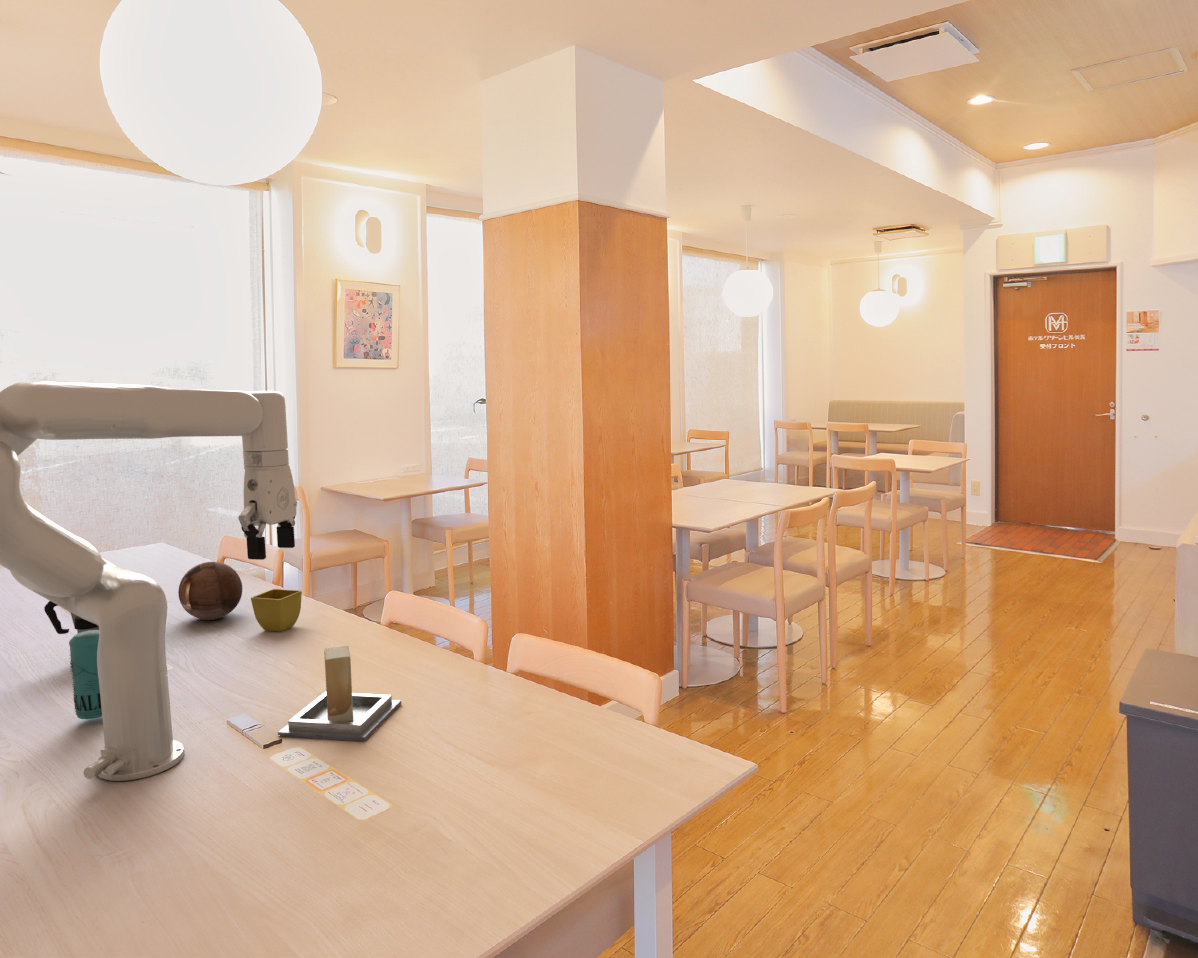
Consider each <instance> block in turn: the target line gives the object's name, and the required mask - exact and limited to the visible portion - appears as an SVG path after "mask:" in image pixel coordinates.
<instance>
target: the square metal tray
mask: <svg viewBox="0 0 1198 958" xmlns="http://www.w3.org/2000/svg"><path fill="white" fill-rule="evenodd" d="M392 697H393V696H392V694H381V693H380V694H379V693H377V694H374V693H362V692H361V693H360V692H359V693H358V692H357V693H355V692H352V703H353V721H331V720H328V713H327V693H326V691H324V692H323V693H321V694H320V695H319V696H318V697H316V699H314V700H313V701H311V702H310V703H309V704H307V706H305V707H304V708H303V709H301V710H300V711H299V712H297V713H296V714H295V715H294V716H293V717H292V718H290V719H289V720H288V721H287V724H286V725H284V727H282V728H281V729H280V730H279V731H277V736H278V735H280V736H282V737H281V738H283V737H284V738H297V739H298V738H299V739H313V740H315V739H316V740H327V741H328V740H332V741H347V742H362V743H365V742H366V741H367V740H368V739H369V738H370V737H371V736H372V735H373V734H374V733H375V732H376V731H377V730H378V729H379V728H380V727H381V726H382V725H383V724H384V723H385V722H386V721H387V719H389V717H390V716H391V715H392V714H394V712H395V711H396V710H397V709H398V708H399V707H400V706H401V705H402V699H393V698H392ZM384 721H385V722H384ZM383 722H384V723H383ZM382 723H383V724H382ZM381 724H382V725H381ZM379 726H380V727H379ZM378 727H379V728H378ZM377 728H378V729H377ZM376 729H377V730H376ZM375 730H376V731H375ZM374 731H375V732H374ZM373 732H374V733H373ZM371 734H372V735H371Z"/></svg>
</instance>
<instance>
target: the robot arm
mask: <svg viewBox="0 0 1198 958" xmlns="http://www.w3.org/2000/svg"><path fill="white" fill-rule="evenodd" d="M285 399H286V398H285V396H284V395H283V393H282V392H280V391H278V390H276V391H275V390H256V391H255V390H251V391H244V390H220V389H219V390H216V389H215V390H214V389H213V390H211V389H192V388H191V389H189V388H186V389H185V388H171V387H163V386H154V385H146V384H129V383H127V384H126V383H125V384H122V383H99V382H98V383H97V382H96V383H95V382H92V383H91V382H67V381H65V382H64V381H22V382H16V383H14V384H12V385H9V386H7V387H5V388H4V389H2V390H1V391H0V566H2V567H3V568H4V569H7V570H8V571H9V572H10V574H11V576H12V577H13V578H14V579H15V581H17V583H18V584H20V585H22V586H23V587H25V588H27V589H28V590H30V591H32V592H33V593H35V594H37V595H39V596H40V597H42V598H44V599H46V600H48V602H49V601H51V602H53V603H55V604H57V605H59V606H58V607H61V608H63V609H64V610H66V611H68V612H69V613H70V612H72V613H73V614H75V615H77V616H79V617H81V618H83V619H85V620H87V621H89V622H92V623H94V624H96V625H98V626H99V630H100V634H99V642H98V649H97V668H98V678H99V687H100V698H101V709H102V717H101V718H102V729H103V737H104V738H103V740H104V746H103V747H101V748H100V757H98V759H97V761H96V762H93V763H92V764H90V765H88V766H87V767H85V768H84V770H83V776H84V777H85V778H86V779H87V780H92V779H94V778H95V777H98V778H100V779H103V780H106V781H111V782H112V781H115V782H124V781H132V780H139V779H143V778H148V777H151V776H153V775H157V774H159V773H162V772H164V771H166V770H169V769H170V768H172V767H174V766H176V765H177V764H178V763H180V761H181V760H182V759H183V758H184V756H185V746H184V744H183V743H182V742H180V741H177V740H176V739H175V740H174V739H173V738H174V737H173V727H172V726H173V724H172V714H171V713H172V712H171V702H170V701H171V699H170V687H169V675H168V665H167V664H168V663H167V656H166V653H167V652H166V627H167V626H166V625H167V618H168V601H167V600H168V599H167V597H166V594H165V591H164V589H163V588H162V587H161V585H160V584H159V583H158V582H156V580H154V579H153V578H152V577H149V576H148V575H145V574H143V573H140V572H136V571H133V570H130V569H125V568H122V567H119V566H118V565H115V564H113V563H112V562H110V561H109V560H107V559H105V558H104V557H102V555H101V554H100V552H99V551H98V550H97V548H96V547H95V546H94V545H93V544H92V543H91V542H89V541H87V540H86V539H84V538H82V537H80V536H78V535H75V534H74V533H72V532H70V531H69V530H67V529H65V528H64V527H62V526H60V525H59V524H57V523H55V522H54V521H52V520H51V519H49V518H47V517H46V516H45V515H43V514H42V513H41V512H39V511H38V510H36V509H34V508H33V507H32V506H30V505H29V504H28V503H27V502H26V501H25V499H24V498H23V496H22V493H21V488H20V481H21V480H20V479H21V463H20V459H19V455H21V454H22V453H23V452H24V451H26V449H27V448H29V447H30V446H31V445H32V444H33V443H34V442H35V441H36V440H49V441H50V440H51V441H52V440H53V441H59V440H60V441H61V440H62V441H64V440H65V441H66V440H67V441H69V440H70V441H71V440H75V441H76V440H129V439H131V440H136V439H137V440H138V439H139V440H140V439H141V440H142V439H143V440H145V439H146V440H150V439H151V440H153V439H154V440H155V439H163V438H179V437H180V438H182V437H183V438H184V437H188V438H189V437H241V440H242V458H243V469H244V476H243V510H242V511H241V513H240V514H239V515H238V516H237V517H238V521H239V523H240V525H241V530H242V532H243V533H244V534H243V535H244V538H245V539H246V550H247V558H248V559H249V560H260V561H264V560H265V559H266V558H267V551H266V550H267V549H266V537H265V536H263V535H264V533H265V529H266V527H267V526H266V525H268V526H271V525H277V526H276V540H277V547H278V548H279V549H284V548H285V549H293V548H294V547H296V544H295V543H296V541H295V540H296V538H295V525H296V519H295V518H296V516H297V506H298V501H297V500H296V492H295V491H296V490H295V485H294V479H293V474H292V469H291V466H290V460H289V445H288V443H289V441H288V426H287V412H286V411H287V410H286V409H287V407H286V400H285Z"/></svg>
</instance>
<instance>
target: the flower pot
mask: <svg viewBox="0 0 1198 958" xmlns="http://www.w3.org/2000/svg"><path fill="white" fill-rule="evenodd" d="M302 593H303V592H302V590H297V589H282V588H272V589H269V590H267V591H265V592H264V591H263V592H261V593H259V594H257V595H253V596H251V597H250V601H251V607H252V610H253V615H254V617H255V620H256V622H257V623H258V624H259V626H260V627H261V628H262V629H263V630H264V631H266V632H270V631H271V632H279V633H280V632H283V631H286V630H287V629H289V628H293V627H294V626H295V624H296V623H297V620H298V619H299V616H300V613H301V609H302V608H301V607H302Z"/></svg>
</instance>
